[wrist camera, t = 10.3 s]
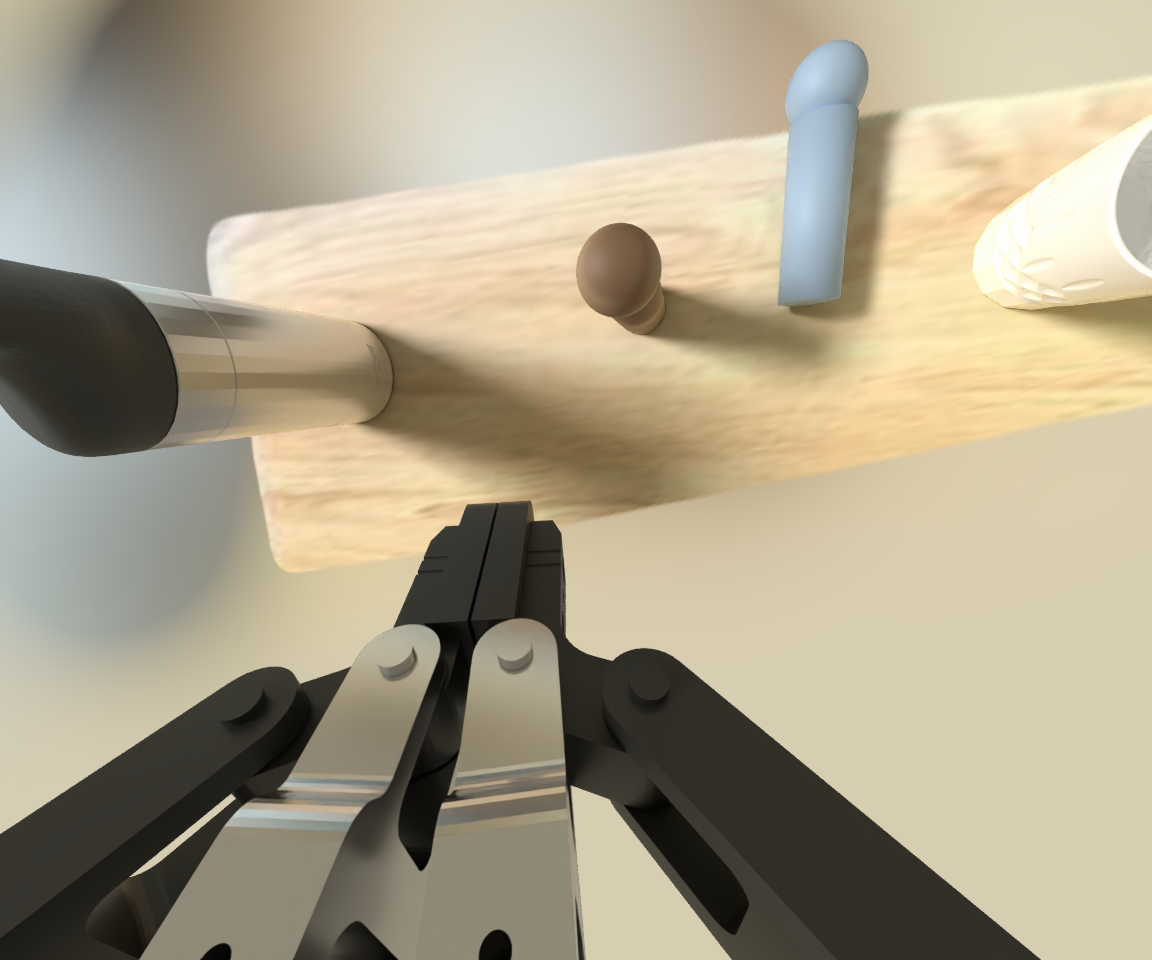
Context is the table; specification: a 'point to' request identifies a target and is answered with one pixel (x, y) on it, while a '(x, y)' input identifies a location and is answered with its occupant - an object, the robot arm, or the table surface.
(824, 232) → the blue pin
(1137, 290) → the white cup
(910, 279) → the table surface
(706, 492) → the table surface
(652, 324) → the walnut pin
